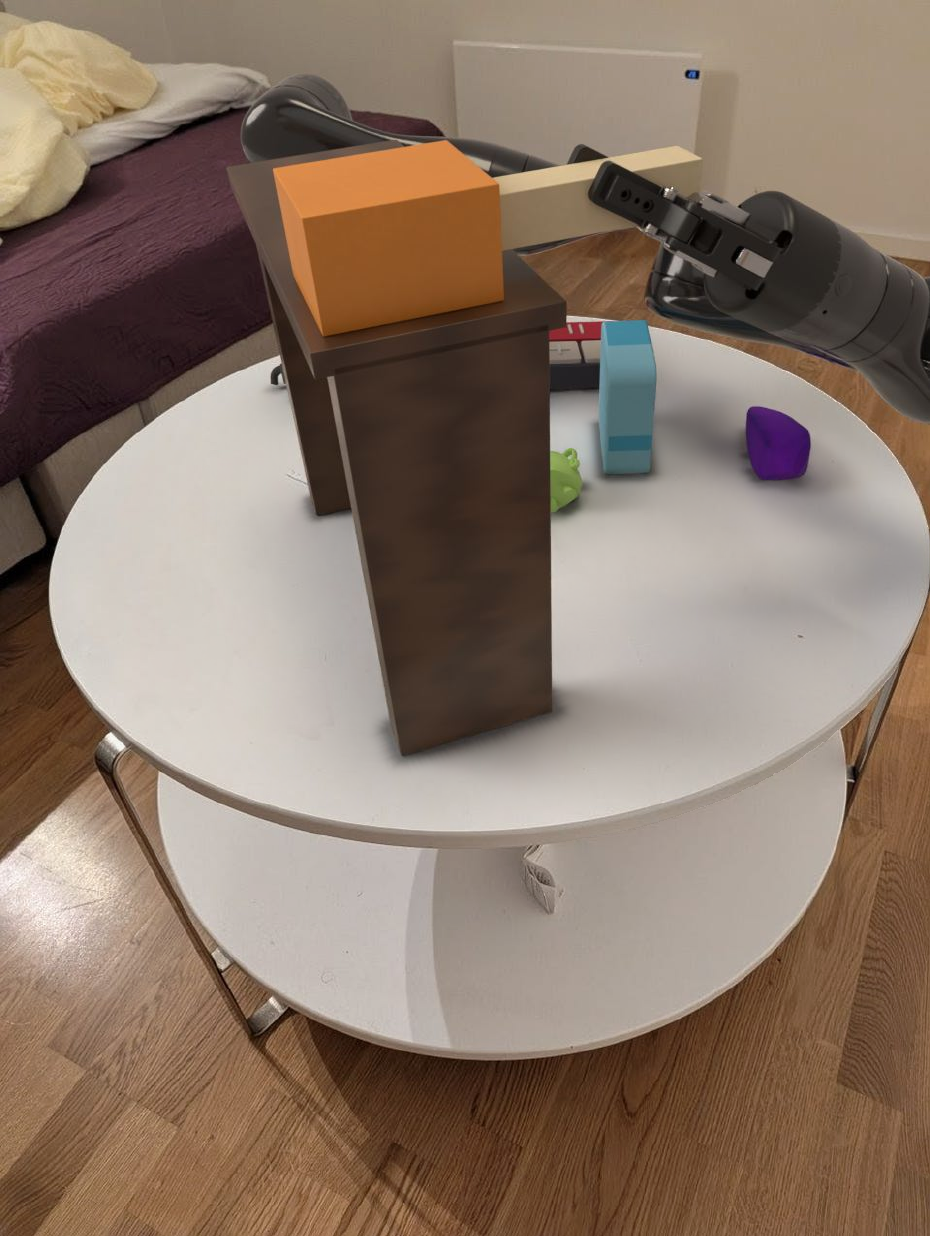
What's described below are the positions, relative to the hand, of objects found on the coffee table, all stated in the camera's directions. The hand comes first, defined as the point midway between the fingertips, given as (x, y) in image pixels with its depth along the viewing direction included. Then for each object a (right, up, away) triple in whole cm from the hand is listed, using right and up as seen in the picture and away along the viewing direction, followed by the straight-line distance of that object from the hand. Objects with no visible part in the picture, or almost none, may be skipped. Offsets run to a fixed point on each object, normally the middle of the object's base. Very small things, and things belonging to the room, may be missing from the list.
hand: (584, 171), depth 51 cm
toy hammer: (-4, -5, +2) cm, 7 cm away
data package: (+10, -7, +46) cm, 48 cm away
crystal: (+24, -9, +43) cm, 50 cm away
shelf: (-11, -22, +31) cm, 40 cm away
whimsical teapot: (+2, -14, +40) cm, 42 cm away
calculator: (+5, +5, +60) cm, 61 cm away
